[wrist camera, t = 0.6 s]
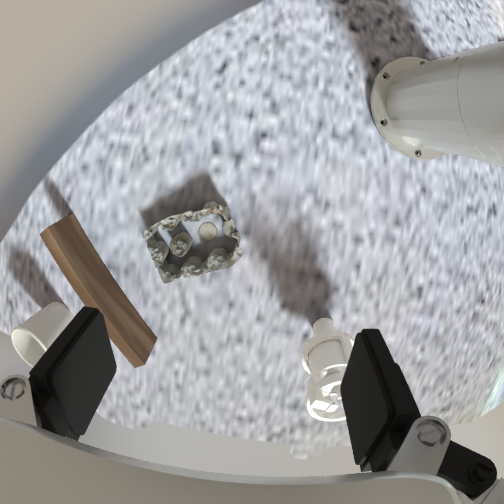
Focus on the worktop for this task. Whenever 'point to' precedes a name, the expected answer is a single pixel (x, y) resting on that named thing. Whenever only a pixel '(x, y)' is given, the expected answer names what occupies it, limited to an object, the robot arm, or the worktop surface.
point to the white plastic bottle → (326, 368)
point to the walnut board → (98, 288)
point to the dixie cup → (40, 331)
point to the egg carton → (184, 241)
